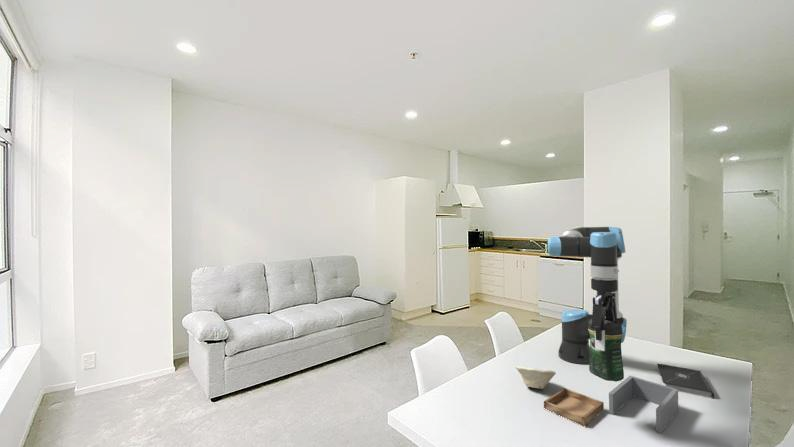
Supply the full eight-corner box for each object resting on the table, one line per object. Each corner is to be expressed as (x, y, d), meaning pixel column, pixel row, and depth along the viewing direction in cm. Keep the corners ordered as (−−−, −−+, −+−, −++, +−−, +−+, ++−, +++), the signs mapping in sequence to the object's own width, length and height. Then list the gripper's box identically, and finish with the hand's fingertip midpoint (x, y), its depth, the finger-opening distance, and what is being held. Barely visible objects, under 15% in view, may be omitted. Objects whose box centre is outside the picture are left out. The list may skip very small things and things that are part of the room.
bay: (609, 413, 114) (608, 392, 114) (630, 393, 127) (630, 375, 127) (661, 433, 103) (660, 410, 103) (678, 409, 116) (678, 389, 116)
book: (714, 400, 123) (714, 392, 123) (663, 390, 131) (663, 382, 131) (701, 377, 141) (701, 370, 141) (657, 369, 149) (657, 363, 149)
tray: (543, 409, 117) (543, 401, 117) (564, 394, 127) (564, 387, 127) (584, 426, 106) (584, 418, 106) (603, 410, 116) (603, 402, 116)
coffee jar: (629, 380, 106) (627, 323, 106) (609, 384, 104) (608, 325, 104) (602, 368, 115) (601, 315, 116) (584, 371, 113) (583, 317, 113)
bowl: (555, 383, 136) (555, 359, 136) (556, 399, 124) (555, 372, 124) (517, 376, 143) (517, 353, 143) (514, 391, 130) (513, 366, 130)
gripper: (604, 283, 100) (606, 358, 100) (627, 276, 114) (628, 341, 114) (578, 280, 106) (580, 351, 106) (603, 273, 120) (604, 335, 120)
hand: (605, 346), depth 110 cm, fingers closed on coffee jar, 9 cm apart
